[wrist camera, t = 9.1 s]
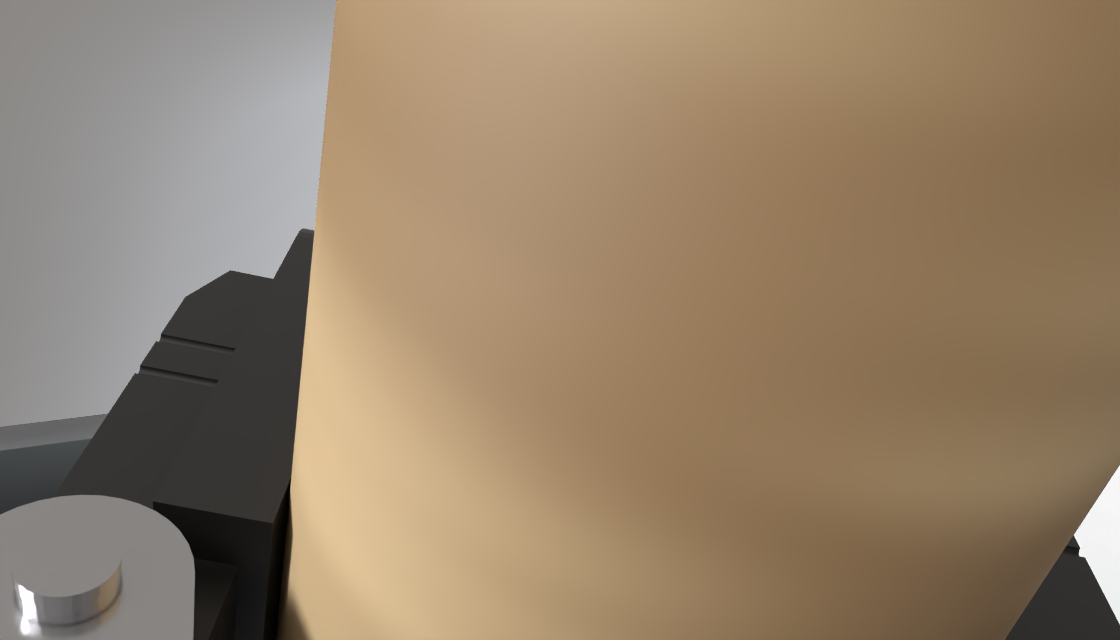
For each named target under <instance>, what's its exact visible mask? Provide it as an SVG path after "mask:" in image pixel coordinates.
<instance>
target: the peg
mask: <svg viewBox="0 0 1120 640" xmlns="http://www.w3.org/2000/svg"><path fill="white" fill-rule="evenodd" d="M1119 465H1120V0H336V10H335V20H334V30H333V41H332V52H331V62H330V73H329V83H328V95H327V104H326V115H325V126H324V136H323V147H322V158H321V168H320V178H319V189H318V200H317V210H316V220H315V231H314V242H313V252H312V263H311V273H310V284H309V294H308V305H307V316H306V326H305V337H304V347H303V358H302V368H301V379H300V390H299V400H298V411H297V421H296V432H295V442H294V453H293V464H292V476H291V486H290V497H289V508H288V518H287V529H286V539H285V550H284V560H283V571H282V581H281V592H280V603H279V613H278V624H277V634H276V640H1005V638H1006V637H1007V635H1008V634H1009V632H1010V631H1011V629H1012V628H1013V626H1014V625H1015V623H1016V622H1017V620H1018V619H1019V617H1020V616H1021V614H1022V613H1023V611H1024V610H1025V608H1026V607H1027V605H1028V603H1029V602H1030V600H1031V599H1032V597H1033V596H1034V594H1035V593H1036V591H1037V590H1038V588H1039V587H1040V585H1041V584H1042V582H1043V581H1044V579H1045V578H1046V576H1047V575H1048V573H1049V572H1050V570H1051V569H1052V567H1053V565H1054V564H1055V562H1056V561H1057V559H1058V558H1059V556H1060V555H1061V553H1062V552H1063V550H1064V549H1065V547H1066V546H1067V544H1068V543H1069V541H1070V540H1071V538H1072V537H1073V535H1074V534H1075V532H1076V530H1077V529H1078V527H1079V526H1080V524H1081V523H1082V521H1083V520H1084V518H1085V517H1086V515H1087V514H1088V512H1089V511H1090V509H1091V508H1092V506H1093V505H1094V503H1095V502H1096V500H1097V499H1098V497H1099V495H1100V494H1101V492H1102V491H1103V489H1104V488H1105V486H1106V485H1107V483H1108V482H1109V480H1110V479H1111V477H1112V476H1113V474H1114V473H1115V471H1116V470H1117V468H1118V467H1119Z"/></svg>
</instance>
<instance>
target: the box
mask: <svg viewBox="0 0 1120 640" xmlns="http://www.w3.org/2000/svg"><path fill="white" fill-rule="evenodd" d="M107 415H108V414H102V415H94V416H86V417H78V418H70V419H62V420H54V421H47V422H37V423H30V424H21V425H14V426H6V427H0V514H3V513H5V512H7V511H10V510H12V509H14V508H17V507H19V506H23V505H26V504H29V503H32V502H36V501H39V500H44V499H49V498H53V496H54V495H55V493H56V492H57V490H58V489H59V487H60V486H61V484H62V483H63V481H64V480H65V478H66V477H67V475H68V474H69V472H70V471H71V469H72V468H73V466H74V465H75V463H76V462H77V460H78V459H79V457H80V456H81V454H82V453H83V451H84V450H85V448H86V447H87V445H88V444H89V442H90V441H91V439H92V438H93V436H94V435H95V433H96V431H97V430H98V428H99V427H100V425H101V424H102V422H103V421H104V419H105V418H106V416H107Z"/></svg>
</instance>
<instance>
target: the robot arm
mask: <svg viewBox="0 0 1120 640" xmlns="http://www.w3.org/2000/svg"><path fill="white" fill-rule="evenodd" d="M313 242H314V230H309V229H301V230H300V231H299V233H298V235H297V236H296V238H295V240H294V242H293V244H292V246H291V248H290V249H289V251H288V253H287V255H286V257H285V258H284V260H283V262H282V264H281V266H280V268H279V270H278V271H277V273H276V275H275V277H274V279H270V278H265V277H260V276H255V275H250V274H246V273H240V272H236V271H229V272H227V273H225V274H224V275H222V276H220V277H219V278H217V279H215V280H213V281H212V282H210V283H208V284H207V285H205V286H203V287H202V288H200V289H198V290H197V291H195V292H193V293H191V294H190V295H188V296H186V297H185V299H184V300H183V302H182V303H181V305H180V306H179V308H178V309H177V311H176V312H175V314H174V315H173V317H172V318H171V320H170V321H169V323H168V324H167V326H166V327H165V329H164V330H163V332H162V333H161V339H160V341H159V342H157V341H156V343H155V344H154V346H153V347H152V349H151V350H150V352H149V353H148V354H147V356H146V357H145V359H144V361H143V362H142V364H141V365H140V371H139V373H138V374H136V373H135V374H134V376H133V377H132V379H131V380H130V382H129V383H128V385H127V386H126V388H125V389H124V391H123V392H122V394H121V395H120V397H119V398H118V400H117V401H116V403H115V405H114V406H113V407H112V409H111V410H110V412H109V413H108V415H107V416H106V418H105V419H104V421H103V422H102V424H101V425H100V427H99V428H98V430H97V431H96V433H95V435H94V436H93V438H92V439H91V441H90V442H89V444H88V445H87V447H86V448H85V450H84V451H83V453H82V454H81V456H80V457H79V459H78V460H77V462H76V463H75V465H74V466H73V468H72V469H71V471H70V472H69V474H68V475H67V477H66V478H65V480H64V481H63V483H62V484H61V486H60V487H59V489H58V490H57V492H56V493H55V495H54V496H53V498H49V499H44V500H39V501H36V502H32V503H29V504H26V505H23V506H19V507H17V508H14V509H12V510H10V511H7V512H5V513H3V514H0V640H276V634H277V624H278V613H279V603H280V592H281V581H282V571H283V560H284V550H285V539H286V529H287V518H288V508H289V497H290V486H291V476H292V464H293V453H294V442H295V432H296V421H297V411H298V400H299V390H300V379H301V368H302V358H303V347H304V337H305V326H306V316H307V305H308V294H309V284H310V273H311V263H312V252H313ZM1079 549H1080V547H1079V545H1078V543H1077V541H1076V539H1075V537H1074V535H1073V537H1072V538H1071V540H1070V541H1069V543H1068V544H1067V546H1066V547H1065V549H1064V550H1063V552H1062V553H1061V555H1060V556H1059V558H1058V559H1057V561H1056V562H1055V564H1054V565H1053V567H1052V569H1051V570H1050V572H1049V573H1048V575H1047V576H1046V578H1045V579H1044V581H1043V582H1042V584H1041V585H1040V587H1039V588H1038V590H1037V591H1036V593H1035V594H1034V596H1033V597H1032V599H1031V600H1030V602H1029V603H1028V605H1027V607H1026V608H1025V610H1024V611H1023V613H1022V614H1021V616H1020V617H1019V619H1018V620H1017V622H1016V623H1015V625H1014V626H1013V628H1012V629H1011V631H1010V632H1009V634H1008V635H1007V637H1006V638H1005V640H1120V625H1119V623H1118V621H1117V619H1116V617H1115V615H1114V613H1113V611H1112V609H1111V607H1110V605H1109V603H1108V601H1107V599H1106V597H1105V595H1104V593H1103V592H1102V590H1101V588H1100V586H1099V584H1098V582H1097V580H1096V578H1095V576H1094V574H1093V572H1092V570H1091V568H1090V566H1089V564H1088V562H1087V561H1086V559H1085V558H1084V557H1079Z"/></svg>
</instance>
